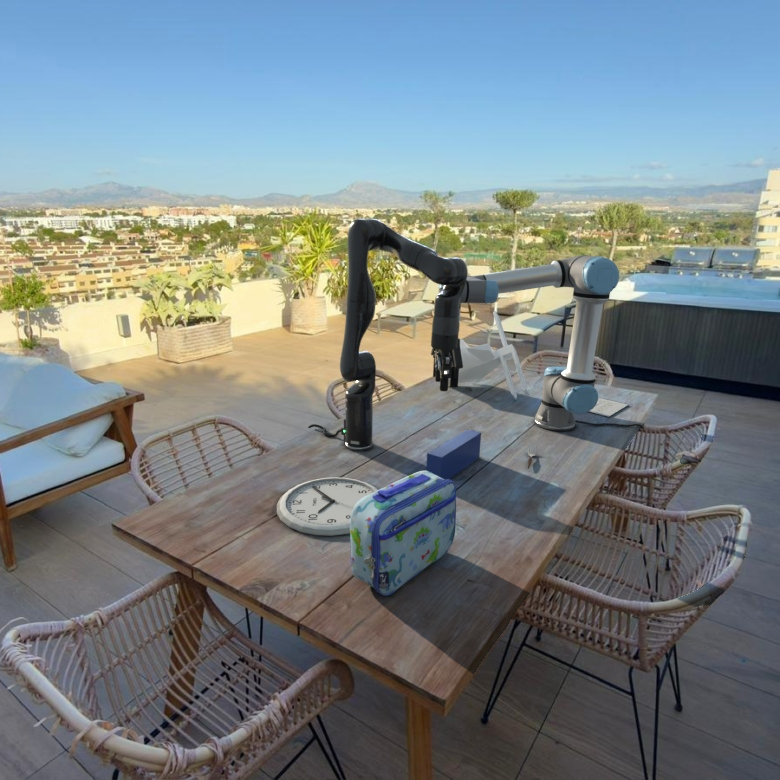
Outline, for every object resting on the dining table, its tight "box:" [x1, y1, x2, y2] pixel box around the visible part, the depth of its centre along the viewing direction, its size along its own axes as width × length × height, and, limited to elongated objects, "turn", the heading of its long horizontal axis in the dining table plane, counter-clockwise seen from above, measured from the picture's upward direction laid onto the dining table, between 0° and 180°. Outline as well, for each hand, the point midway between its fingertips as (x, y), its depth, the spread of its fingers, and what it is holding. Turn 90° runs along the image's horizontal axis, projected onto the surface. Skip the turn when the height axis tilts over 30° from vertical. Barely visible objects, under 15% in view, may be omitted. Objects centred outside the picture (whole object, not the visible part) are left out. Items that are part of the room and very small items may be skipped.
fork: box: [527, 445, 537, 469], centre depth 172 cm, size 3×16×2 cm, turn 160°
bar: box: [425, 429, 482, 480], centre depth 165 cm, size 25×5×9 cm, turn 143°
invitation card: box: [588, 397, 629, 418], centre depth 226 cm, size 21×1×15 cm
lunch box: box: [349, 470, 457, 597], centre depth 114 cm, size 26×11×21 cm, turn 134°
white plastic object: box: [444, 310, 531, 400], centre depth 245 cm, size 37×45×31 cm
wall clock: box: [276, 476, 380, 537], centre depth 142 cm, size 30×2×30 cm
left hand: (441, 386), depth 152 cm, fingers open, 8 cm apart
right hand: (444, 381), depth 181 cm, fingers open, 13 cm apart
